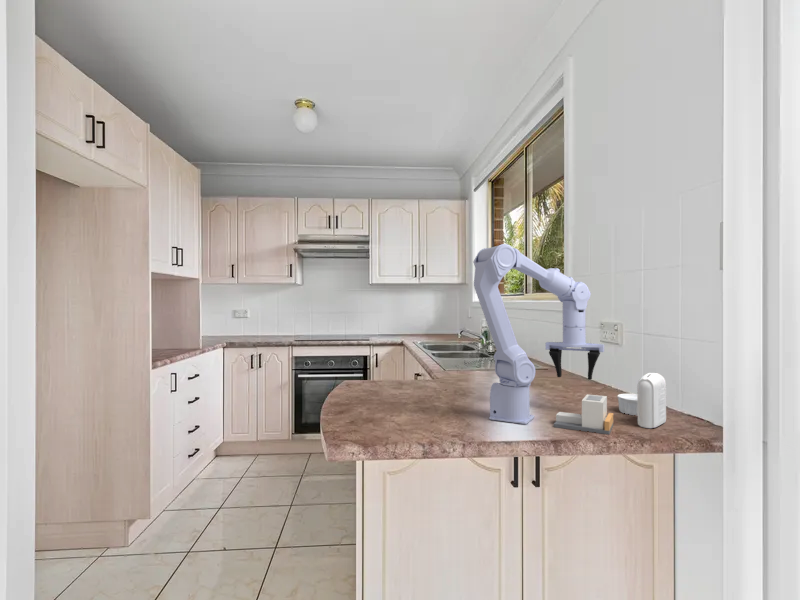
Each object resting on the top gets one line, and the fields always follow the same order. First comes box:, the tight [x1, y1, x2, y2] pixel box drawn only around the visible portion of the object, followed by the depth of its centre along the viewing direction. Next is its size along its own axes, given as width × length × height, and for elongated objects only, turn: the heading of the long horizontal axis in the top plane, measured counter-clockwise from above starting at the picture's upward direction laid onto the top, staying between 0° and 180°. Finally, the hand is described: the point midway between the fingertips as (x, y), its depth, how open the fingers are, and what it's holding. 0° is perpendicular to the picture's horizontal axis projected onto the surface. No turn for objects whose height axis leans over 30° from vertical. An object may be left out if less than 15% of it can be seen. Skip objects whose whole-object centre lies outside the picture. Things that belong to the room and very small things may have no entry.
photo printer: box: [636, 372, 667, 429], centre depth 108 cm, size 10×4×12 cm, turn 134°
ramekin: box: [616, 393, 638, 417], centre depth 119 cm, size 9×9×4 cm
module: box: [581, 393, 608, 429], centre depth 105 cm, size 4×8×6 cm, turn 149°
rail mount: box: [553, 411, 614, 435], centre depth 106 cm, size 12×9×3 cm
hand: (574, 377), depth 119 cm, fingers open, 7 cm apart
